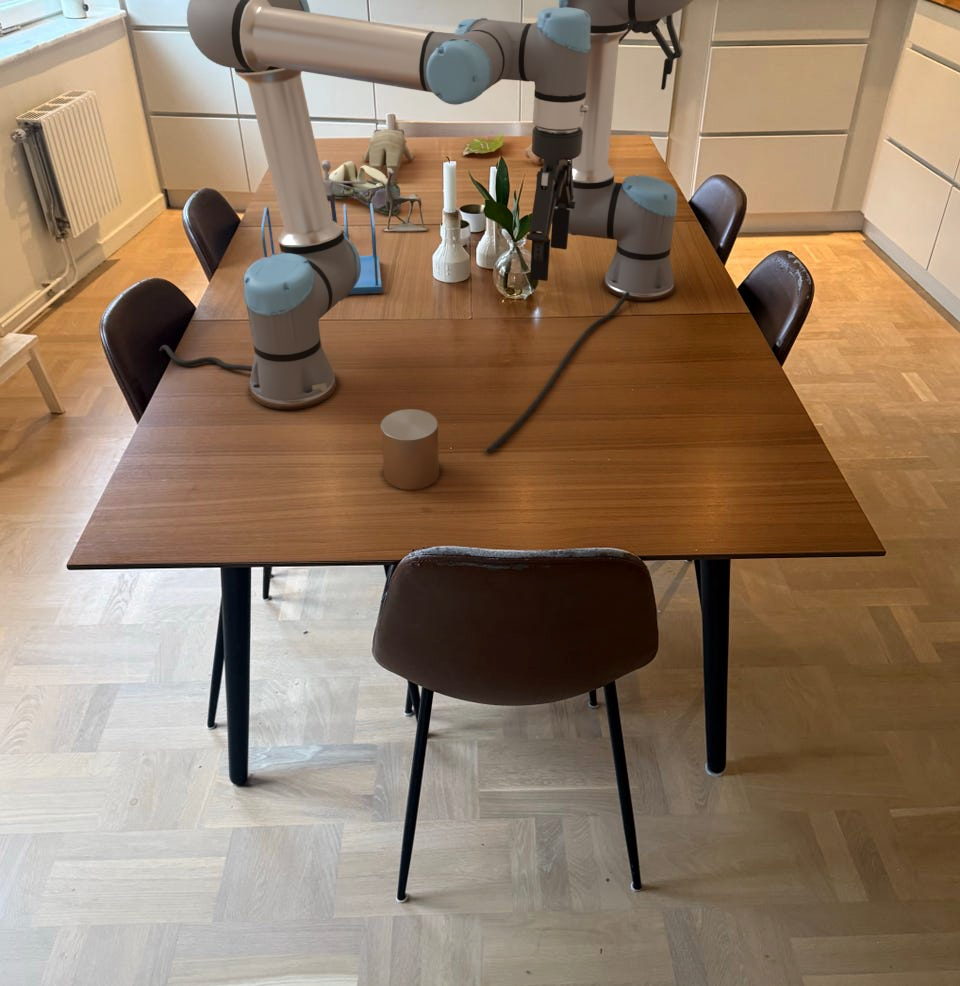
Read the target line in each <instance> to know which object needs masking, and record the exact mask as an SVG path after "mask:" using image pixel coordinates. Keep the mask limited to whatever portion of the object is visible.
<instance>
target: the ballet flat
mask: <svg viewBox="0 0 960 986" xmlns="http://www.w3.org/2000/svg"><path fill="white" fill-rule="evenodd" d="M365 173H366V174H367V175H368V176H369V177H370V178H371V177H373V178H375V179H377V180H378V181H379V182H373V181H372V180H369V179H367V178H366V176H365ZM355 178H362V179H355ZM328 179H329V180H333V181H351V180H352V179H354V180H353V181H362V182H366V184H353V183H344V184H337V183H333V185H332V194H335V199H340V200H341V199H350V198H352V199H355V200H358V201H359V202H360V203H362V204H364V205H365V206H368V207H369V208H370V203H372V204H373V211H376V212H378V213H381V214H383V215H384V214H385V215H389V213H390V211H389V210H388V209H387V207H386V205H385V198H386V193H387V192H386V183H387V180H388V177H387V176H386V175H385V174H384V173H383V172H382V171H381V172H380V171H379V170H377V169H375V168H372V167H370V165H362V166H360V167H359V169H358V167H357V163H356V162H354V161H352V160H349V161H345V162H343V163H341V164H340V166H339V167H337V169H335V170H332V171H331V172H330V173H328ZM323 180H325V177H323ZM365 180H366V181H365ZM367 180H368V181H367ZM391 185H392V188H393V190H394V192H395V193H396V194H397V195H398V196H402V194H401V188H400V186H399V185H398V183H397V182H395V181H391ZM390 207H391V205H390ZM401 208H403V203H402V204H395V205H394V208H393V212H394V213H395V214H398V213H399V212H400V210H401Z"/></svg>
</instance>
